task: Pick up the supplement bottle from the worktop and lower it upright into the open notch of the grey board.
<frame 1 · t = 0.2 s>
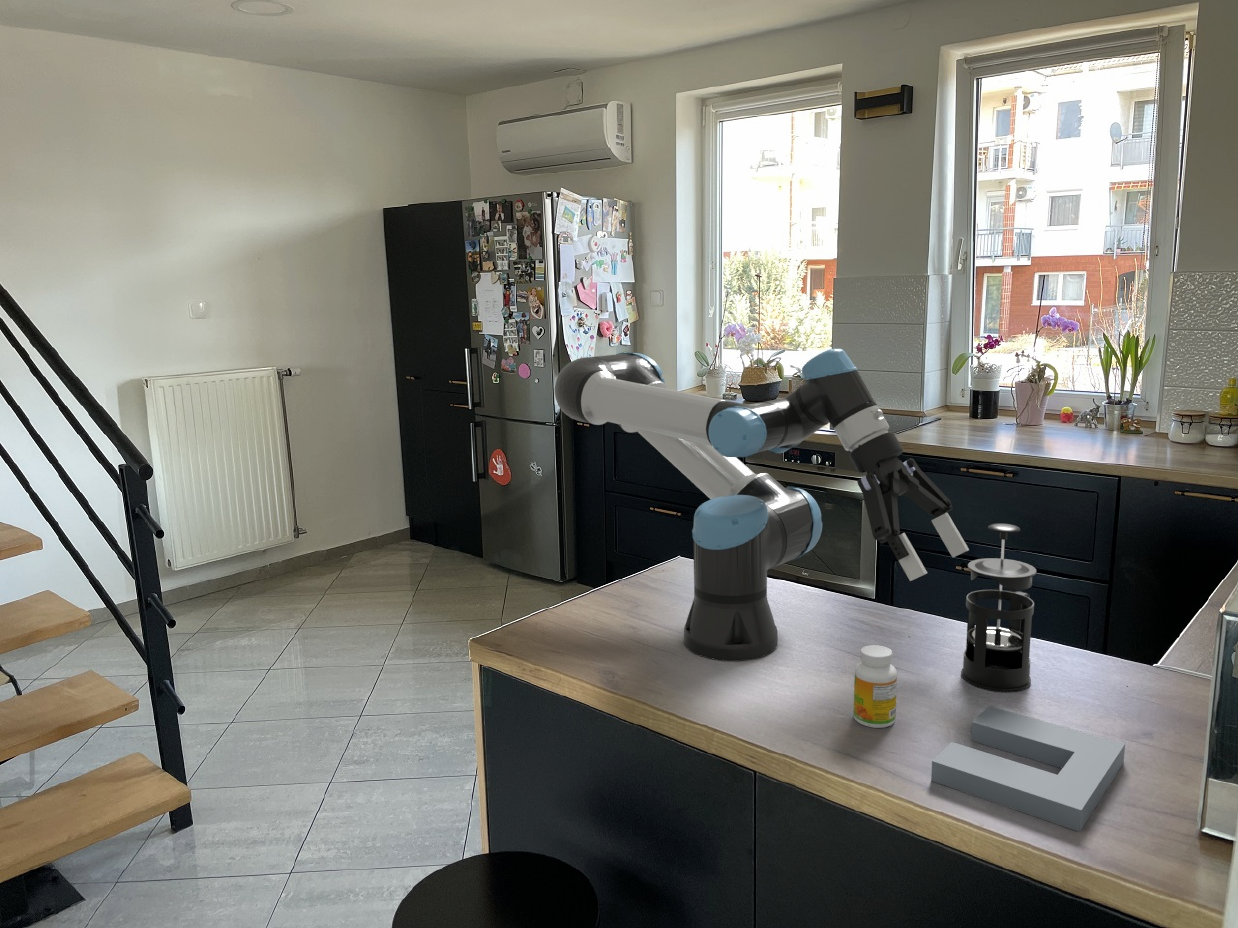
hand: (940, 565, 135), 15 cm above the worktop, tool tilted 35°, fingers open, 13 cm apart
supplement bottle: (874, 720, 121), on the worktop
notched board: (1028, 771, 107), on the worktop
french press: (997, 678, 133), on the worktop
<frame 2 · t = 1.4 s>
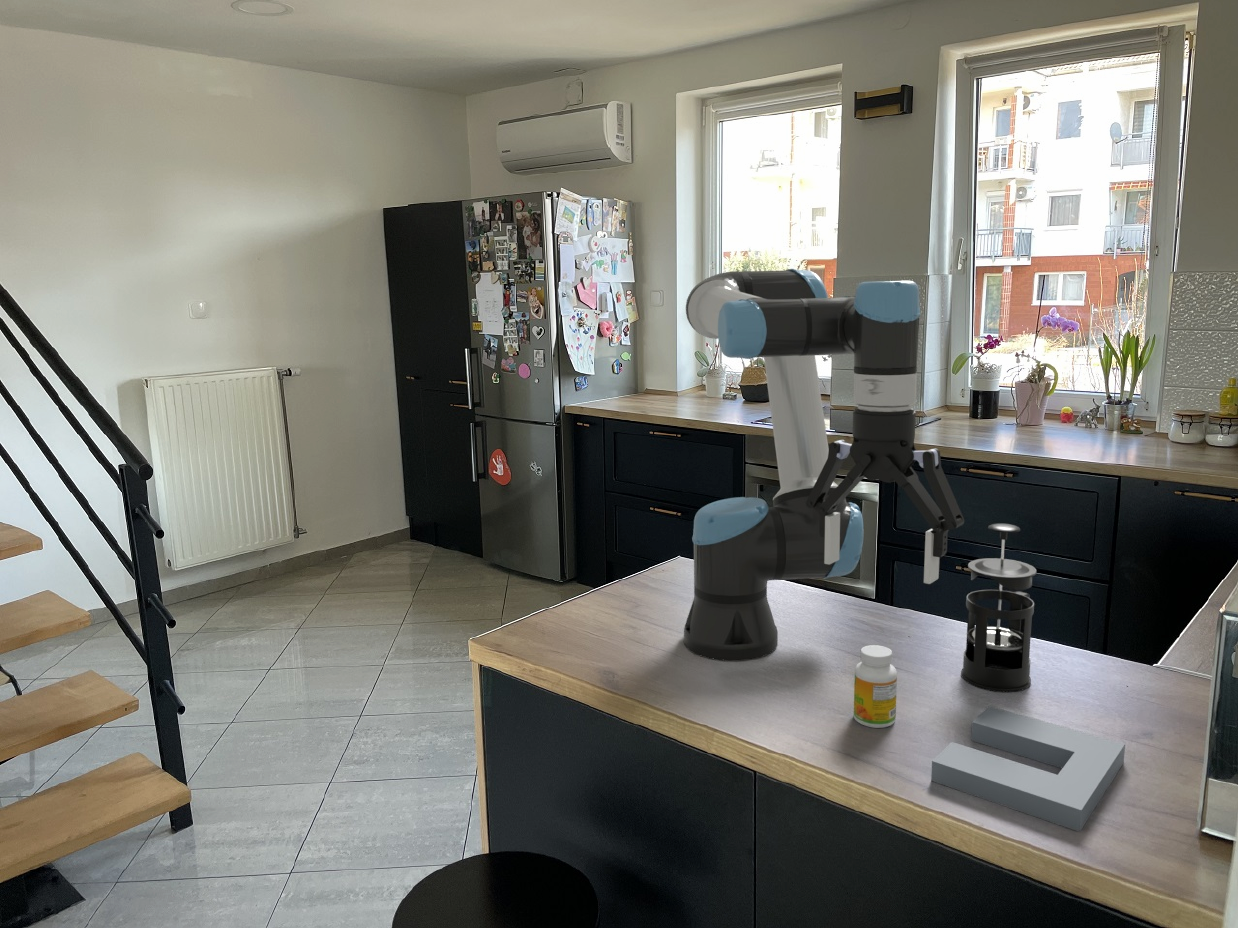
hand: (879, 571, 117), 21 cm above the worktop, tool pointing down, fingers open, 13 cm apart
nothing on the worktop moved.
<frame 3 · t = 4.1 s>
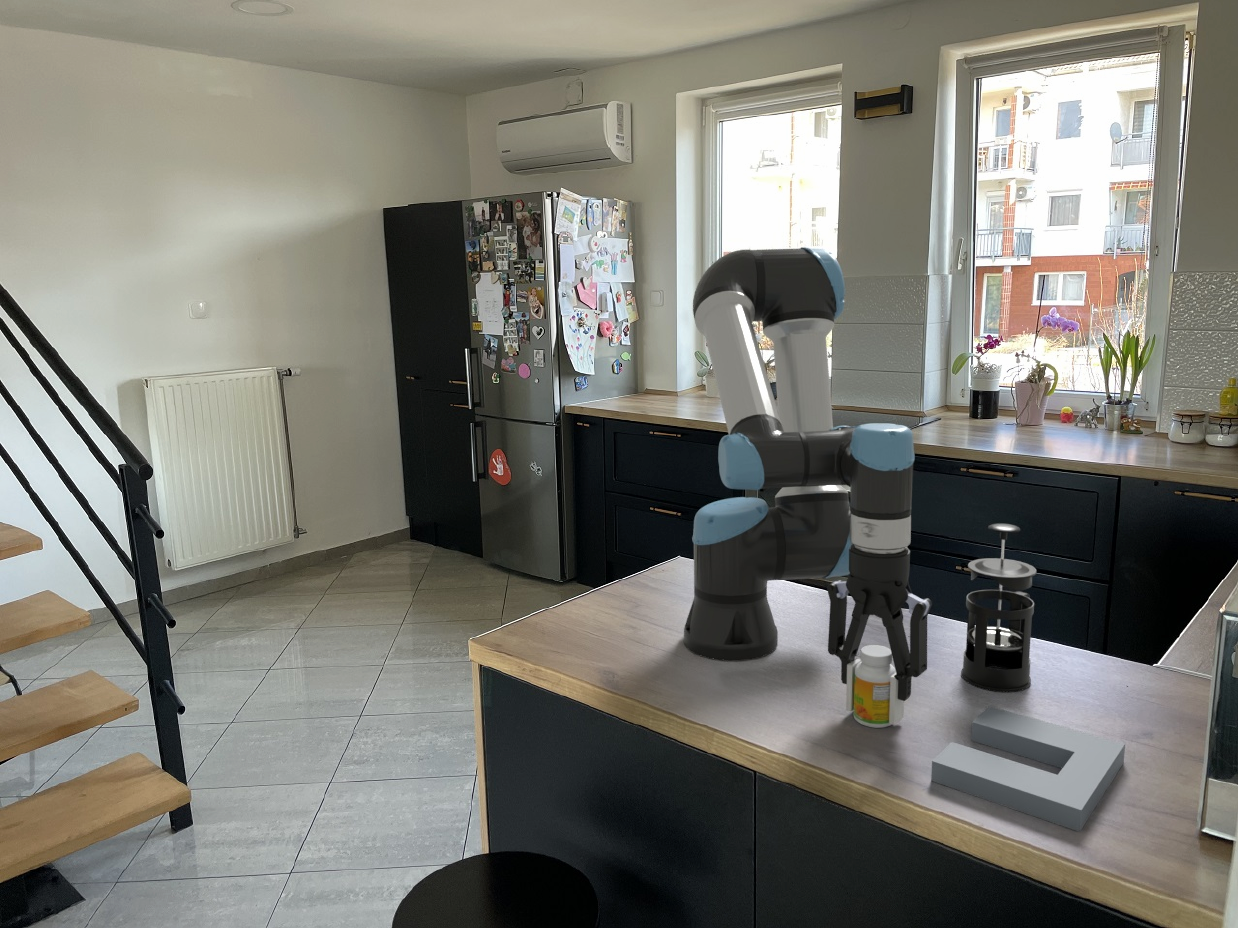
hand: (874, 713, 121), 1 cm above the worktop, tool pointing down, fingers closed on supplement bottle, 5 cm apart
supplement bottle: (874, 720, 121), on the worktop, touching gripper
everything else where it was.
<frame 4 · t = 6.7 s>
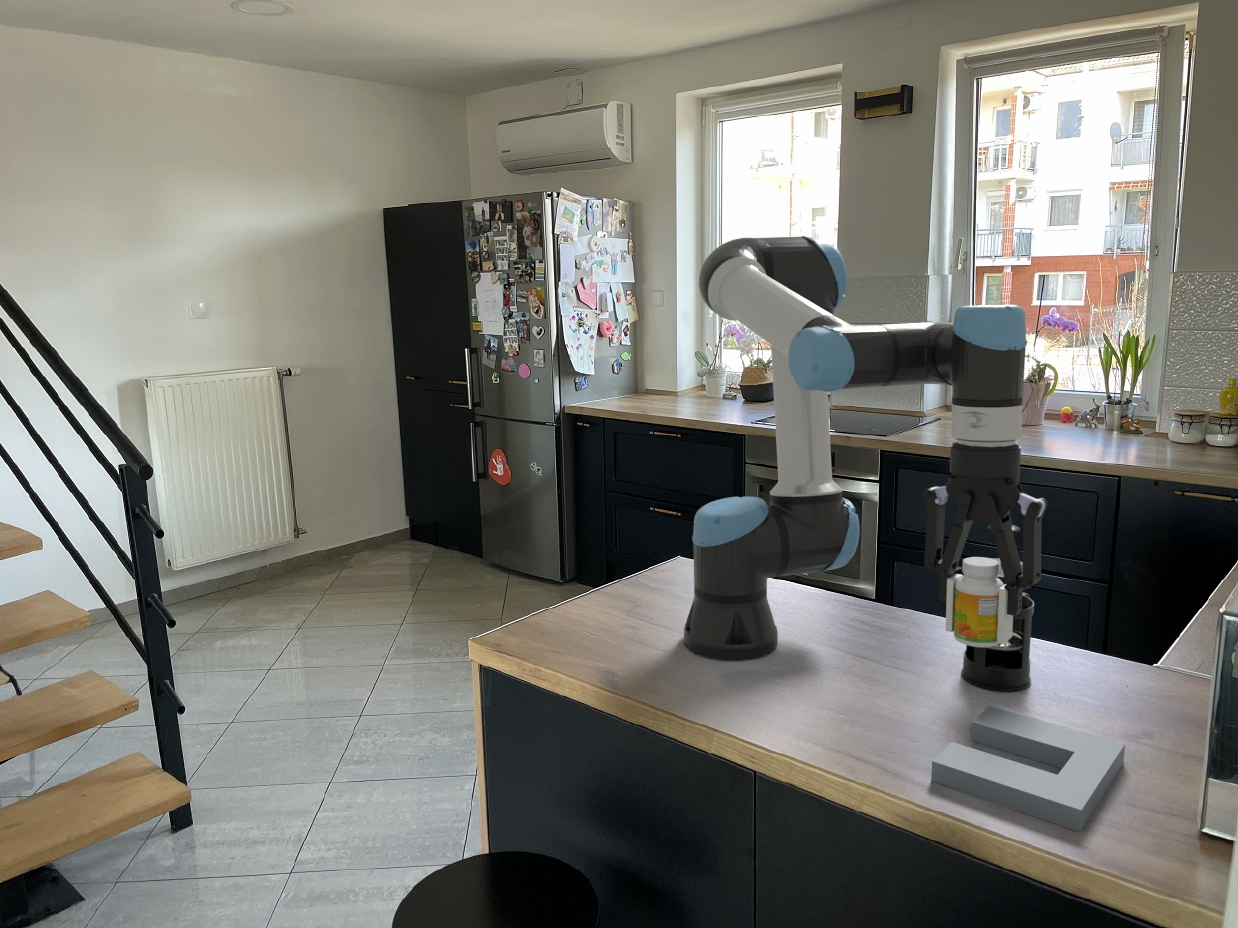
hand: (978, 633, 108), 16 cm above the worktop, tool pointing down, fingers closed on supplement bottle, 5 cm apart
supplement bottle: (977, 641, 108), point 15 cm above the worktop, touching gripper
everything else where it was.
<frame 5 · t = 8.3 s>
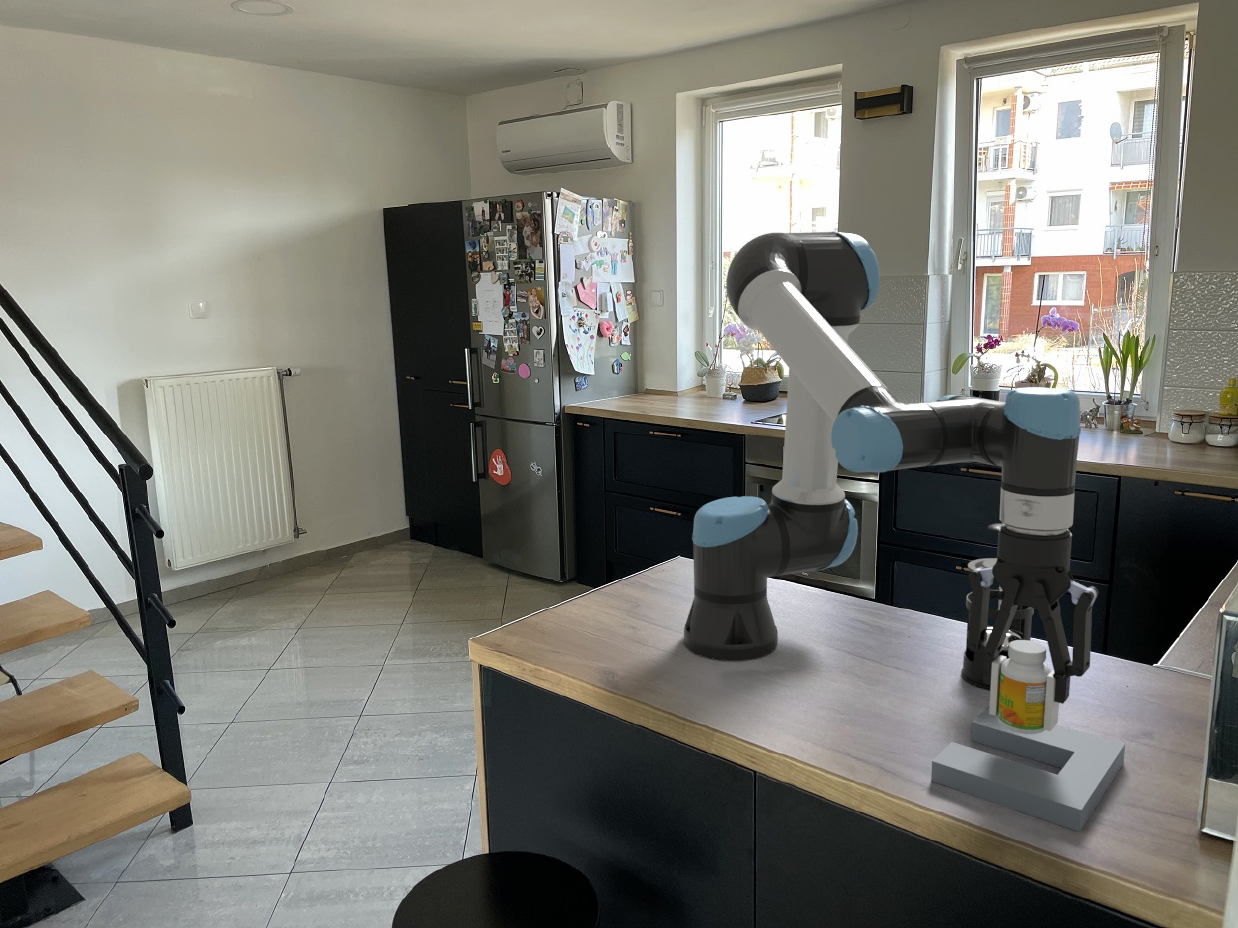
hand: (1023, 717, 107), 7 cm above the worktop, tool pointing down, fingers closed on supplement bottle, 5 cm apart
supplement bottle: (1022, 725, 107), point 6 cm above the worktop, touching gripper
everything else where it was.
when the fingers open (2 cm above the worktop, at t = 9.4 s): supplement bottle drops 1 cm, resting in notched board.
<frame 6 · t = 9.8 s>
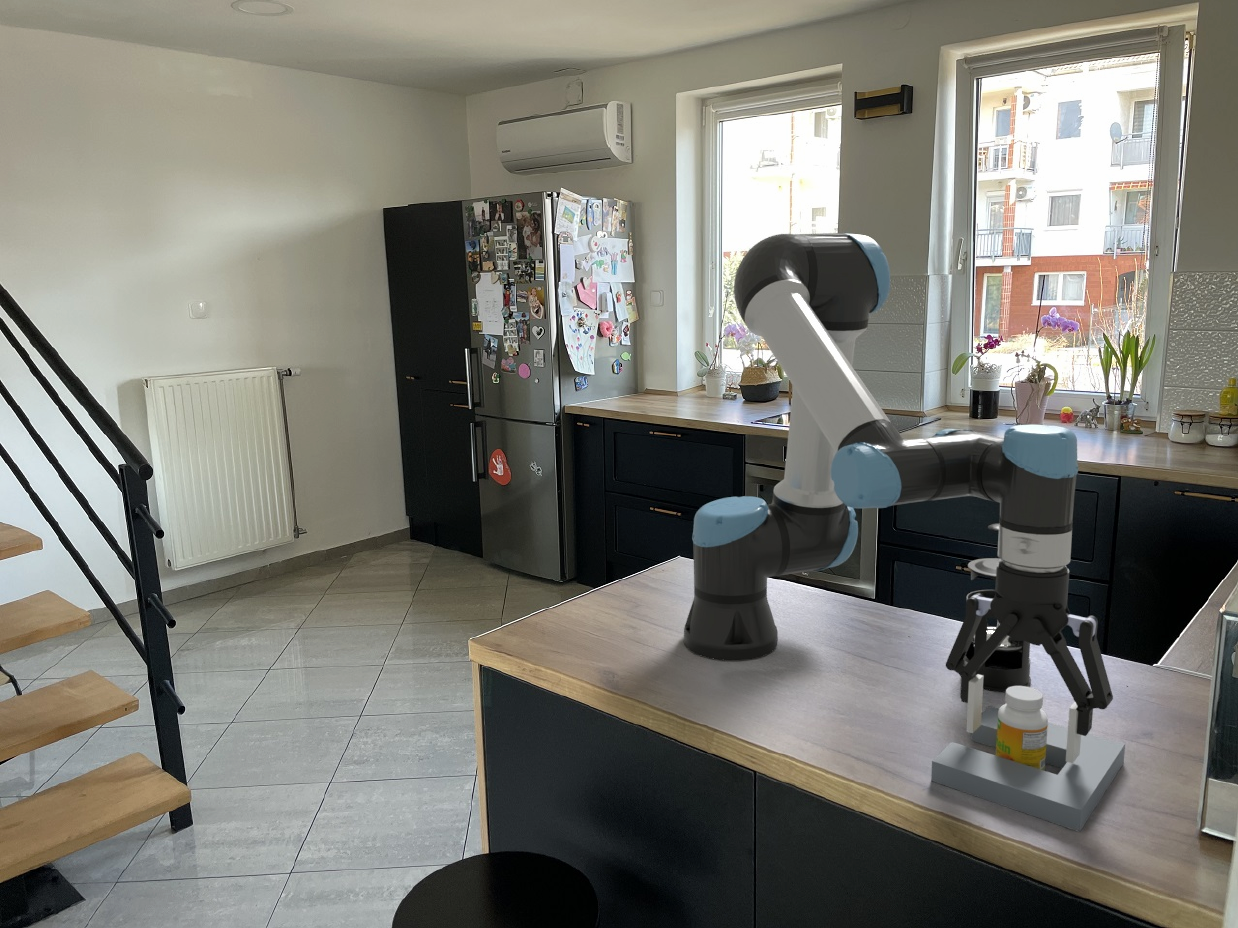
hand: (1021, 742, 107), 3 cm above the worktop, tool pointing down, fingers open, 10 cm apart
supplement bottle: (1019, 770, 108), resting in notched board
everything else where it was.
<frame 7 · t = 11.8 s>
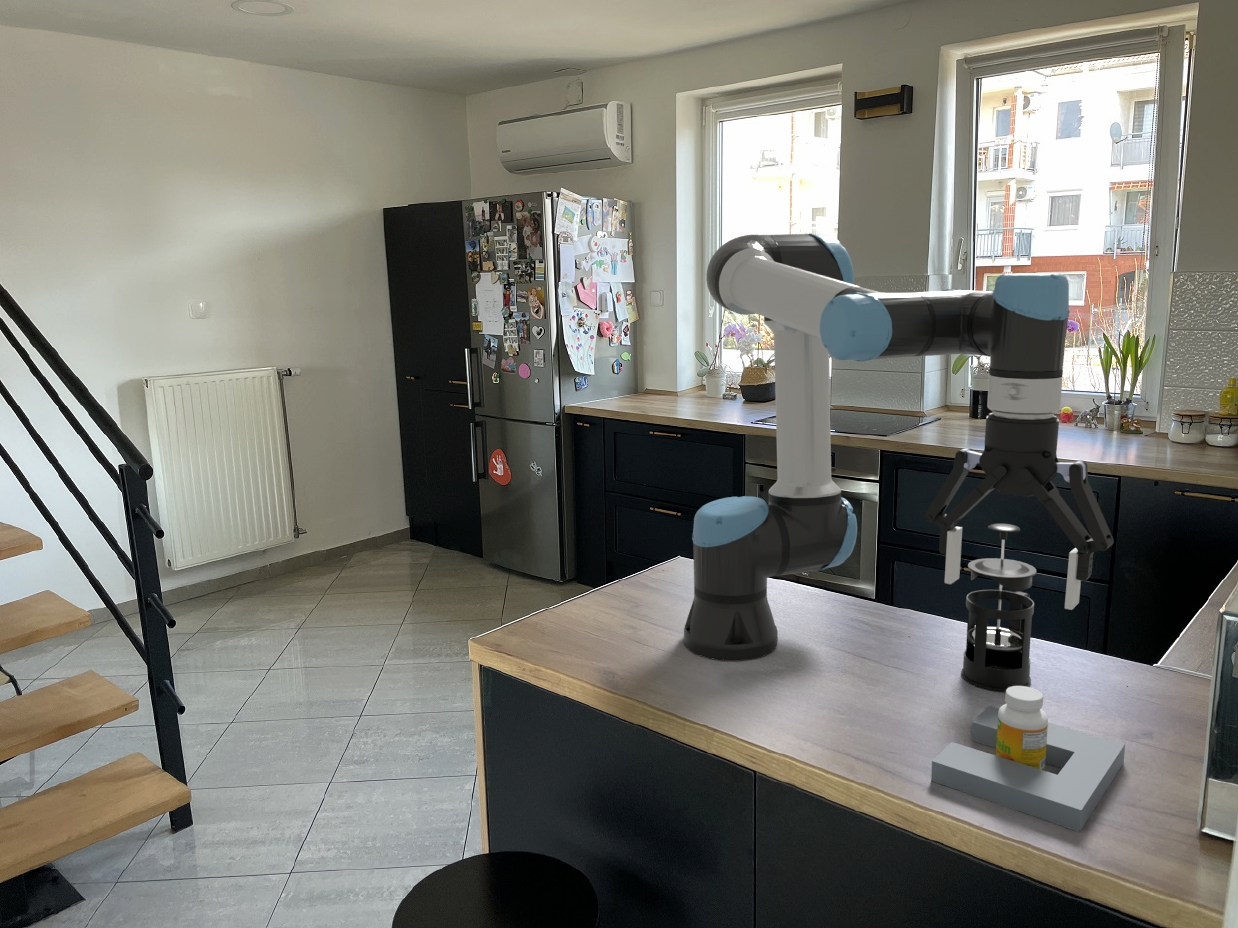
hand: (1009, 593, 106), 21 cm above the worktop, tool pointing down, fingers open, 13 cm apart
nothing on the worktop moved.
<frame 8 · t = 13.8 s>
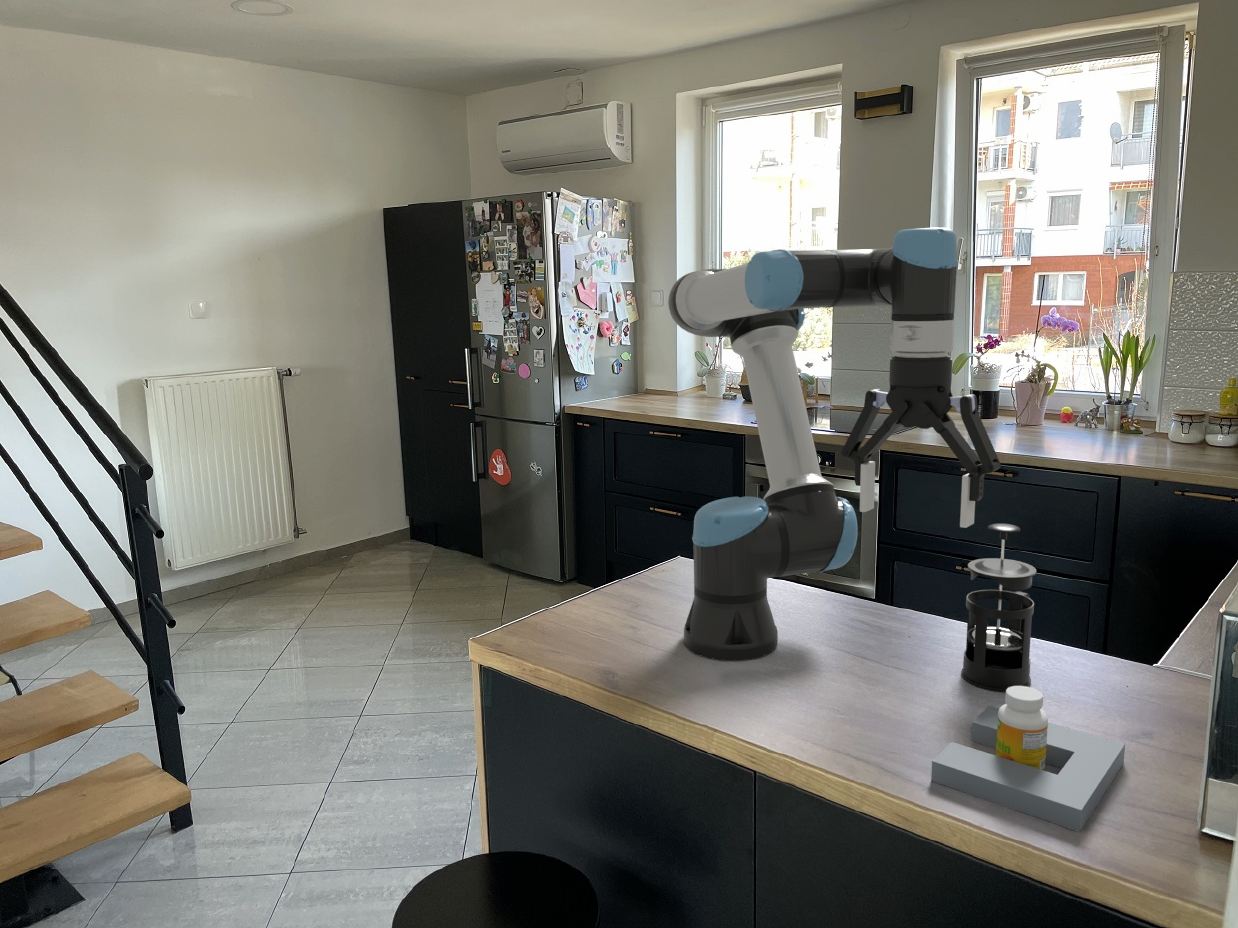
hand: (915, 517, 119), 27 cm above the worktop, tool pointing down, fingers open, 13 cm apart
nothing on the worktop moved.
at the end: supplement bottle 0.2 cm off-centre on the notched board, point 0.0 cm above the notched board's base; supplement bottle tilted 0°; the gripper is holding nothing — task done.
